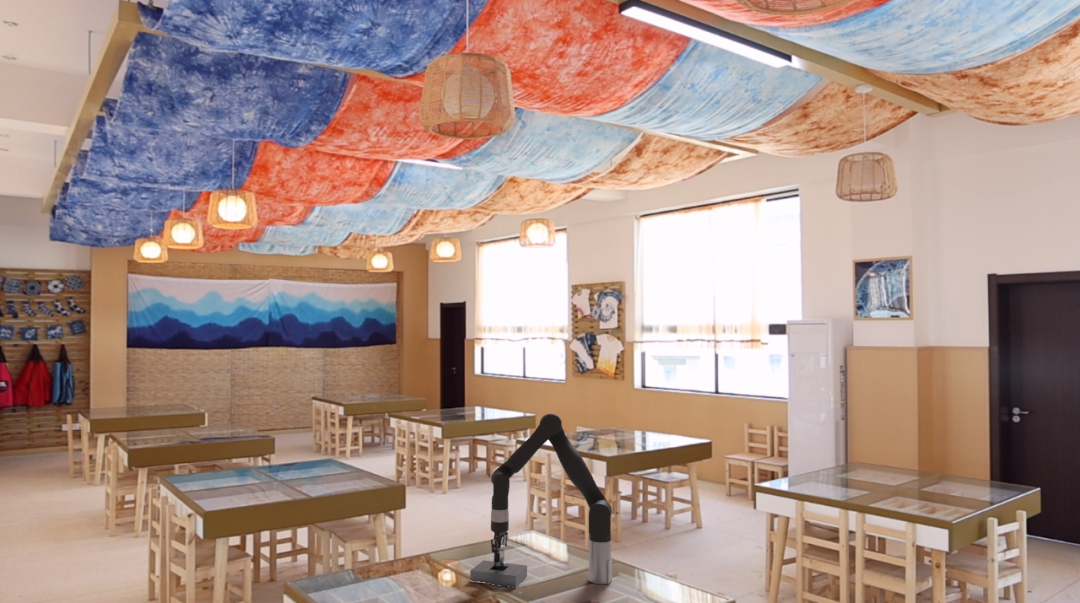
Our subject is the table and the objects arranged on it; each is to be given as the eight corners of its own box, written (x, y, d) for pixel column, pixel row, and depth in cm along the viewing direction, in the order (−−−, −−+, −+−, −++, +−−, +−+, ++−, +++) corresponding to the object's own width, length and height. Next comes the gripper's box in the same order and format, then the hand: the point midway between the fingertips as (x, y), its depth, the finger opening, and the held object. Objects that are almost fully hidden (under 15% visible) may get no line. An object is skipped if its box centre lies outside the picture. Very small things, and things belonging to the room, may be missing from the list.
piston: (506, 563, 315) (506, 544, 315) (502, 566, 311) (502, 547, 311) (495, 561, 317) (496, 542, 317) (491, 565, 312) (491, 546, 312)
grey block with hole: (526, 577, 317) (527, 565, 317) (515, 588, 304) (515, 575, 304) (483, 571, 323) (483, 560, 323) (470, 582, 310) (470, 570, 310)
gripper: (501, 524, 306) (501, 566, 306) (514, 515, 320) (513, 556, 319) (485, 522, 308) (484, 564, 308) (497, 514, 322) (497, 554, 322)
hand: (499, 559), depth 314 cm, fingers closed on piston, 4 cm apart
